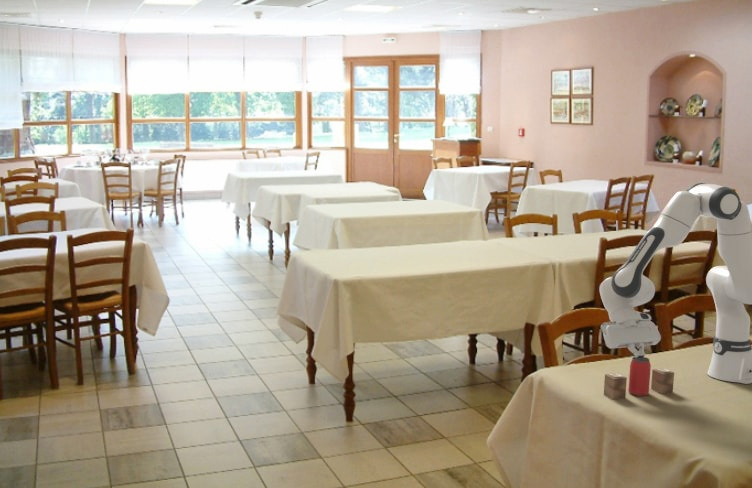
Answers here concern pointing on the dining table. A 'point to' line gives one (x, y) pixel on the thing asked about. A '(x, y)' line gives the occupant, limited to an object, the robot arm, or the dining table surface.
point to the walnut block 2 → (662, 380)
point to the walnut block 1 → (615, 386)
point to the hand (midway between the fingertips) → (640, 356)
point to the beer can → (639, 376)
